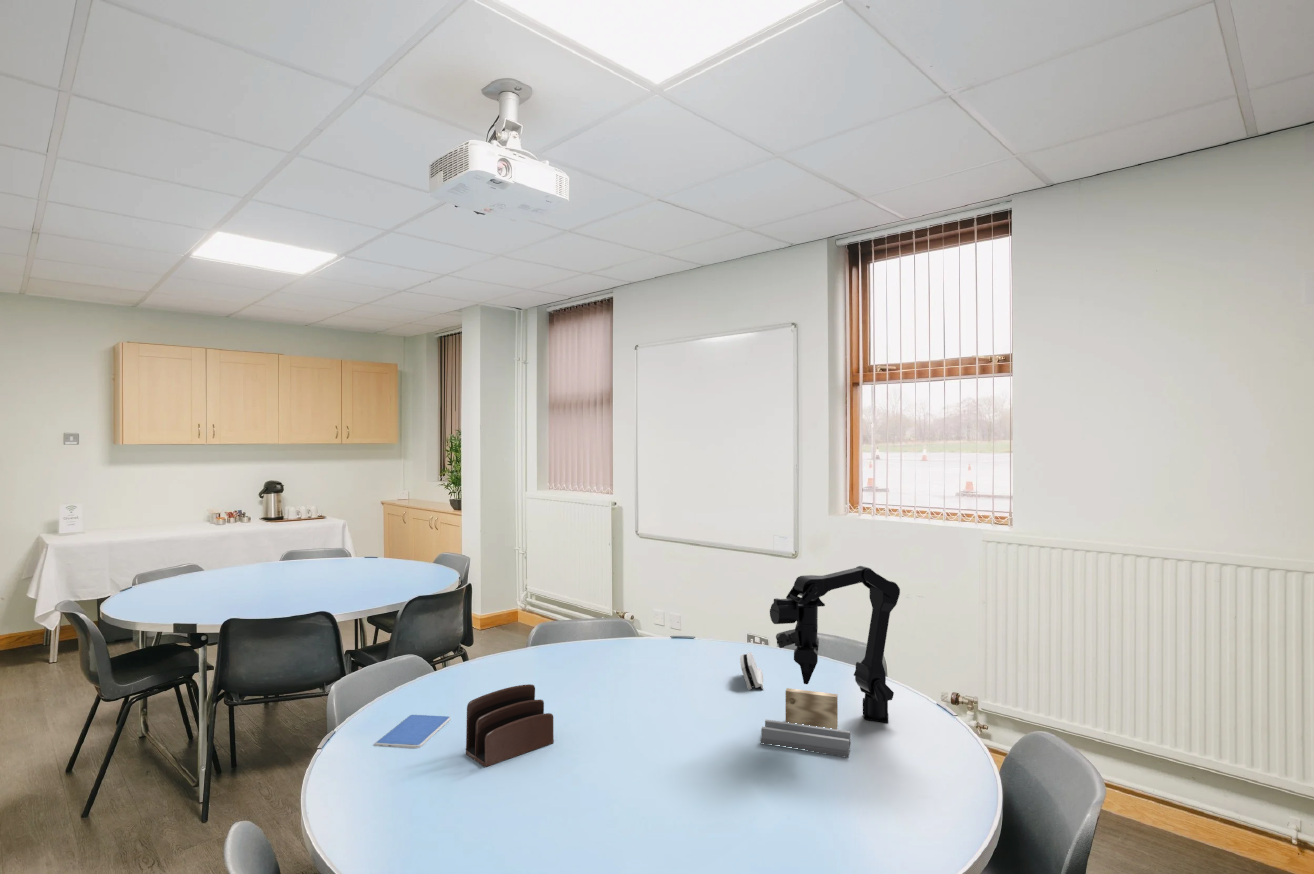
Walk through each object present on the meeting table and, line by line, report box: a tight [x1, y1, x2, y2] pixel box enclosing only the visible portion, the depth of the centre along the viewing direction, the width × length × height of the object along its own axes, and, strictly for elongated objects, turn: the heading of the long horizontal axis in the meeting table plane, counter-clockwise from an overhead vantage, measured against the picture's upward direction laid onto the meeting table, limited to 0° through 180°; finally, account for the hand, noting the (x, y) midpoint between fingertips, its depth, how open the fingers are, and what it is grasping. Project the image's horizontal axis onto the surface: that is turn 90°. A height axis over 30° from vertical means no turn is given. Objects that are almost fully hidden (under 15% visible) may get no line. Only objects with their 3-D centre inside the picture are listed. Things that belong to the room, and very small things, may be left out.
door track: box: [760, 719, 852, 758], centre depth 170 cm, size 22×9×4 cm, turn 70°
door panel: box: [785, 687, 839, 730], centre depth 182 cm, size 14×3×9 cm, turn 70°
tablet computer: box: [374, 714, 452, 749], centre depth 176 cm, size 19×13×1 cm, turn 173°
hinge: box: [739, 652, 765, 690], centre depth 218 cm, size 17×5×10 cm, turn 172°
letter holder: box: [465, 683, 555, 768], centre depth 166 cm, size 10×20×14 cm, turn 134°
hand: (806, 678), depth 182 cm, fingers open, 9 cm apart
